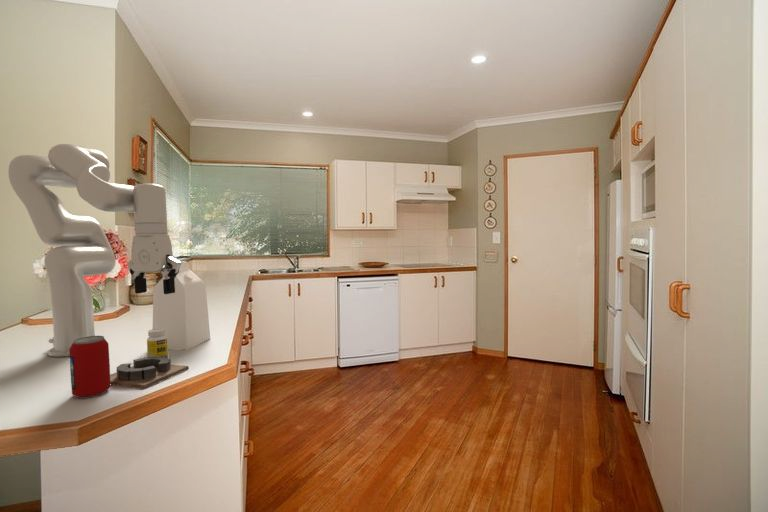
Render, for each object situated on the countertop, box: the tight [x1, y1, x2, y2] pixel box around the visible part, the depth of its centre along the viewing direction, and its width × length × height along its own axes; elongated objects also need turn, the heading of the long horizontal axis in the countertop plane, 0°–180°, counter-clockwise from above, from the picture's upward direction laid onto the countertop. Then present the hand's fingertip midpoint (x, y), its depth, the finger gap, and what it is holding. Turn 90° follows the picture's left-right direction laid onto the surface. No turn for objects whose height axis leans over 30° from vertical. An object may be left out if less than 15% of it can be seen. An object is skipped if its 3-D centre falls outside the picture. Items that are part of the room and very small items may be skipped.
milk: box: [152, 261, 211, 350], centre depth 121 cm, size 12×12×26 cm
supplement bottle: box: [146, 328, 169, 358], centre depth 105 cm, size 5×5×8 cm
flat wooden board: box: [110, 356, 190, 389], centre depth 93 cm, size 14×13×3 cm
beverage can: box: [69, 335, 111, 399], centre depth 83 cm, size 7×7×12 cm
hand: (155, 293), depth 104 cm, fingers open, 9 cm apart
